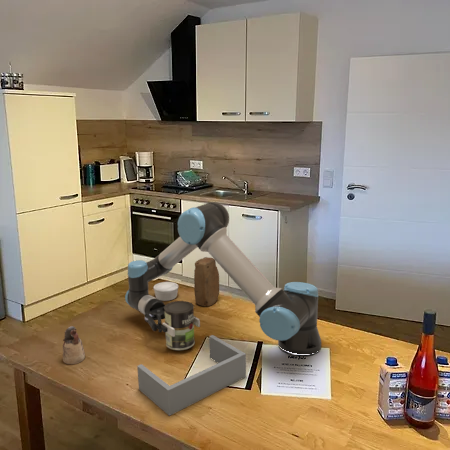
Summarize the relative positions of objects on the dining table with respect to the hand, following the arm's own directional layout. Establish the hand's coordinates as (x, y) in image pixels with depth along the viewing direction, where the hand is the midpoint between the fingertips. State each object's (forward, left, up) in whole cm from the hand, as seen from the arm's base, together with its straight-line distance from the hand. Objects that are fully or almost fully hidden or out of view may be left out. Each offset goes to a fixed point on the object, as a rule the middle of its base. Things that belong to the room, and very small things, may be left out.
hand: (186, 328), depth 159 cm
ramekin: (+29, -41, -9) cm, 51 cm away
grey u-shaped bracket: (-9, +17, -9) cm, 21 cm away
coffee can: (+4, -2, -8) cm, 9 cm away
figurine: (+35, +17, -9) cm, 40 cm away
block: (+9, -41, -9) cm, 43 cm away
